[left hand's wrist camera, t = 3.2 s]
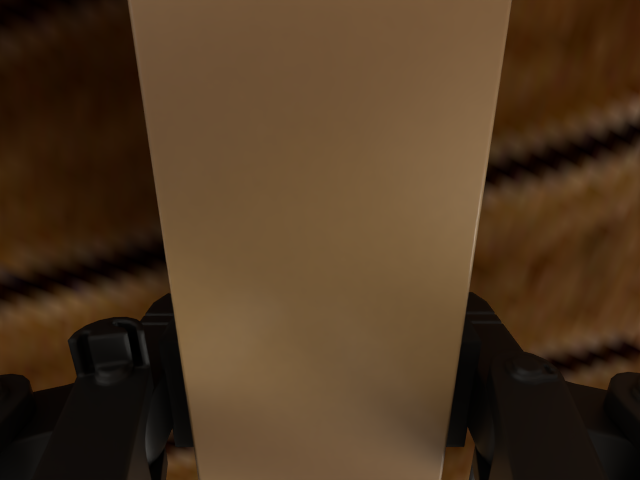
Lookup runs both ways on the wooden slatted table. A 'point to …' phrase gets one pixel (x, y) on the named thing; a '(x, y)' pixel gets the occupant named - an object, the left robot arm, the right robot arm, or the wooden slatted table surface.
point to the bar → (319, 221)
